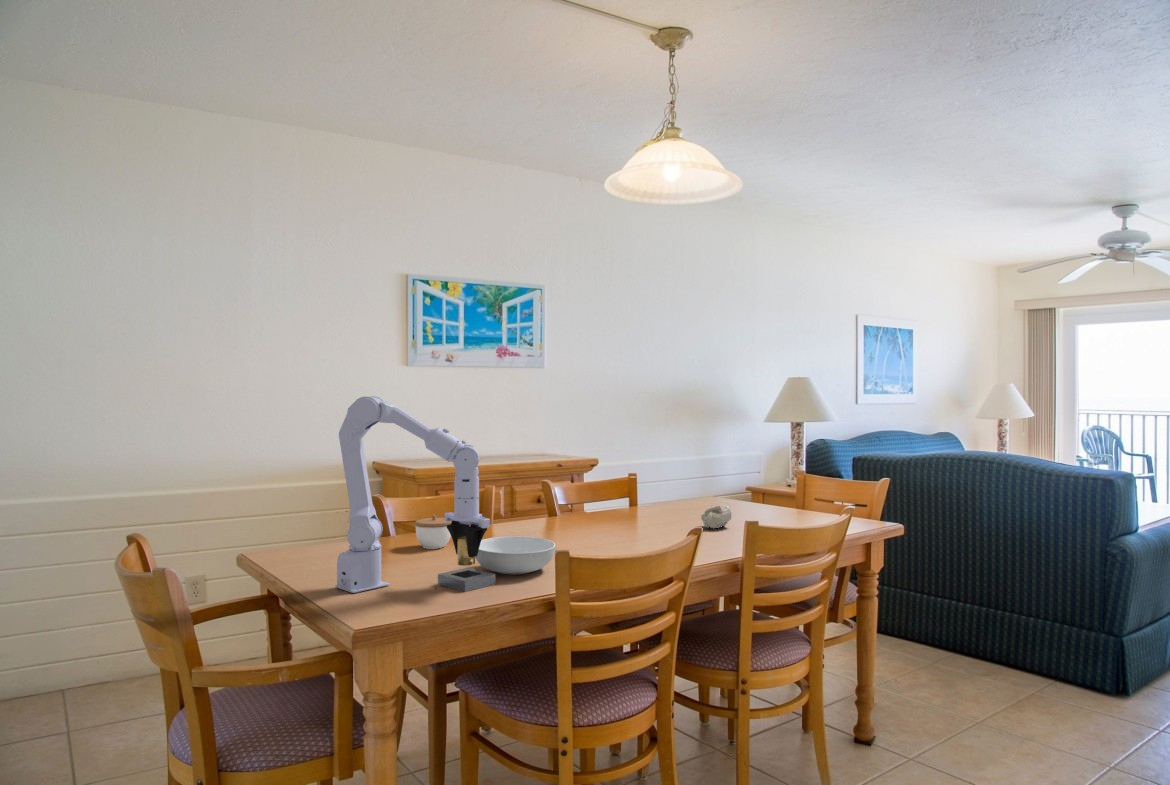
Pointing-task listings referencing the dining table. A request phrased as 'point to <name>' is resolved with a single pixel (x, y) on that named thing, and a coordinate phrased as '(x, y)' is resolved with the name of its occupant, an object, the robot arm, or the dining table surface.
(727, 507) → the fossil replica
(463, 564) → the brass cylinder
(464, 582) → the frame
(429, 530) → the lidded jar
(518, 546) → the serving bowl
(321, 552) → the dining table surface
